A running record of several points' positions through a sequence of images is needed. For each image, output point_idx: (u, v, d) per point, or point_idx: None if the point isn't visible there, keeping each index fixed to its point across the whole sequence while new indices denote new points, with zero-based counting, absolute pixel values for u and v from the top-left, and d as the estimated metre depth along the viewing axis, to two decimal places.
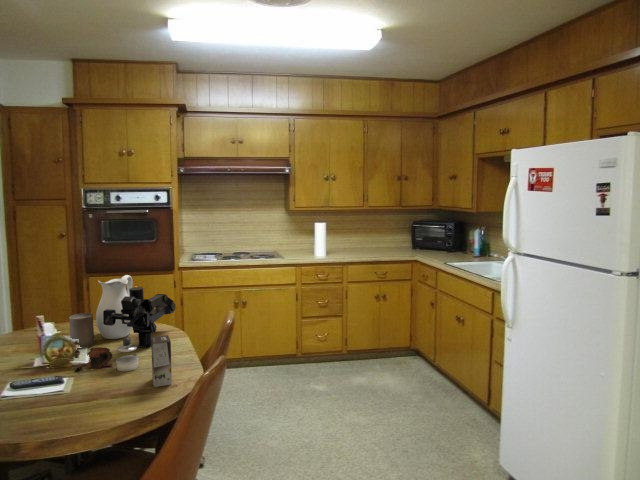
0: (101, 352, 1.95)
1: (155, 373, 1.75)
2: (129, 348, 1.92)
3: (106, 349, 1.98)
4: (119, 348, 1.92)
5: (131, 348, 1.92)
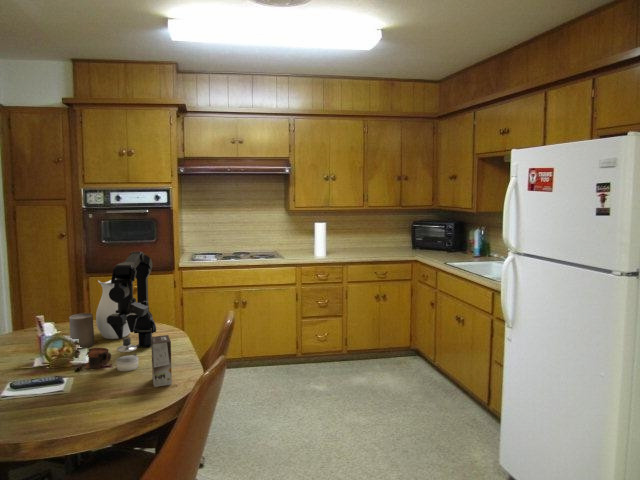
0: (99, 352, 1.95)
1: (155, 373, 1.75)
2: (129, 348, 1.92)
3: (105, 349, 1.97)
4: (119, 348, 1.92)
5: (131, 348, 1.92)
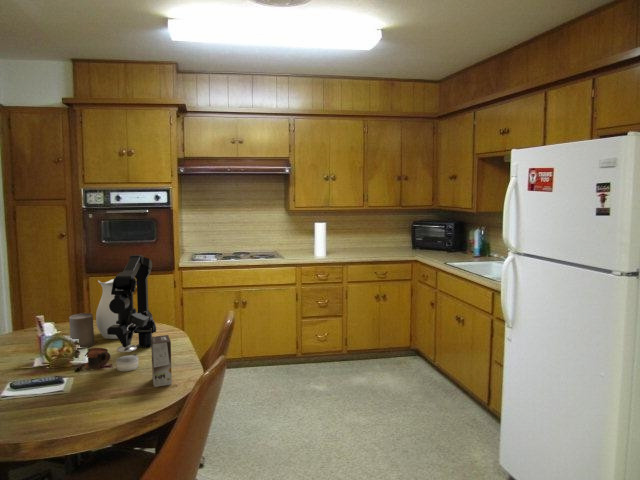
0: (99, 352, 1.94)
1: (155, 373, 1.75)
2: (129, 348, 1.92)
3: (104, 349, 1.97)
4: (119, 348, 1.92)
5: (131, 348, 1.92)
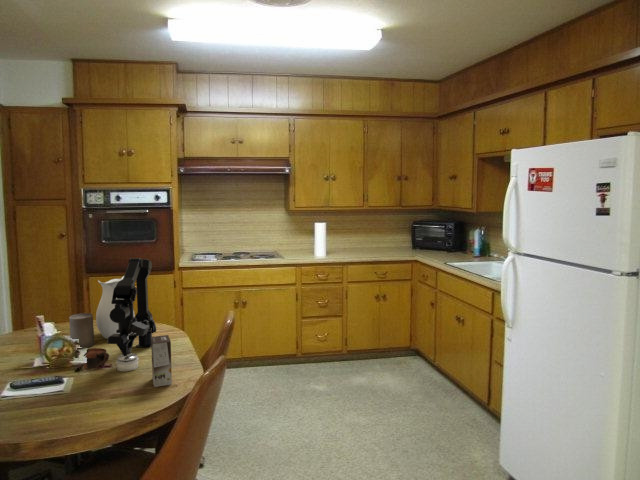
0: (97, 352, 1.94)
1: (155, 373, 1.75)
2: (129, 357, 1.93)
3: (103, 350, 1.97)
4: (119, 357, 1.93)
5: (131, 357, 1.93)
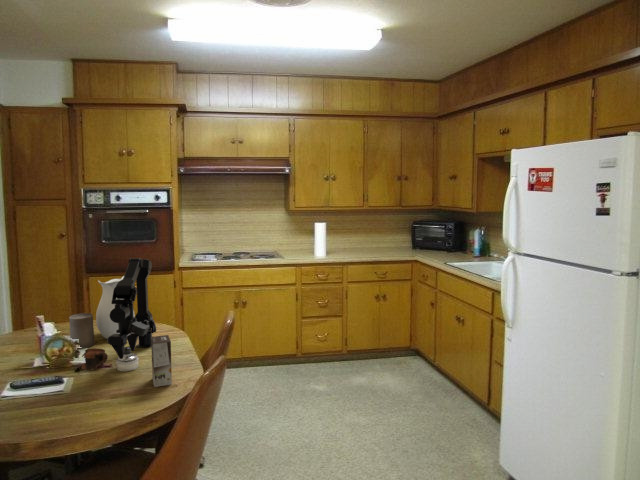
0: (96, 353, 1.94)
1: (155, 373, 1.75)
2: (129, 357, 1.93)
3: (101, 350, 1.96)
4: None
5: (131, 357, 1.93)
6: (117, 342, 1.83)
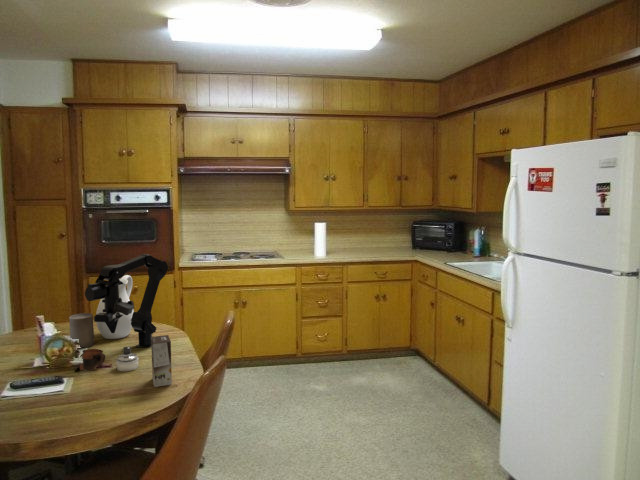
0: (94, 353, 1.93)
1: (155, 373, 1.75)
2: (129, 357, 1.93)
3: (99, 351, 1.96)
4: (119, 357, 1.93)
5: (131, 357, 1.93)
6: (103, 320, 1.96)
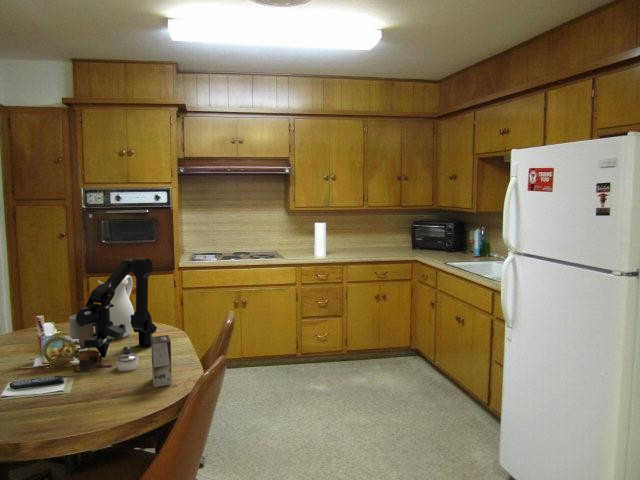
0: (90, 354, 1.91)
1: (155, 373, 1.75)
2: (129, 357, 1.93)
3: (95, 352, 1.94)
4: (119, 357, 1.93)
5: (131, 357, 1.93)
6: (93, 345, 1.89)
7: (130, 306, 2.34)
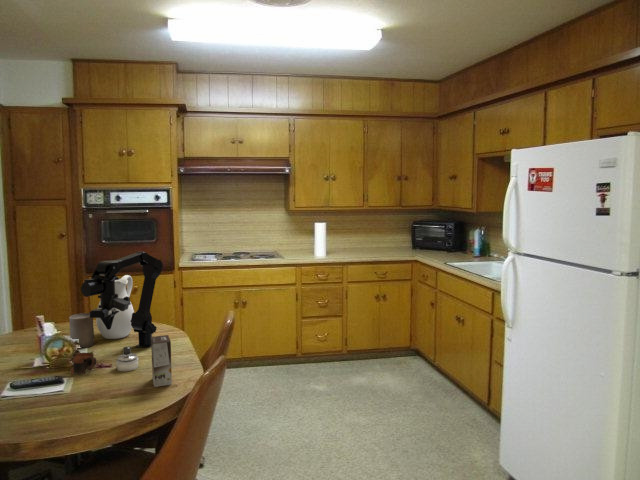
0: (84, 357, 1.88)
1: (155, 373, 1.75)
2: (129, 357, 1.93)
3: (90, 354, 1.91)
4: (119, 357, 1.93)
5: (131, 357, 1.93)
6: (98, 316, 1.93)
7: (130, 306, 2.34)
